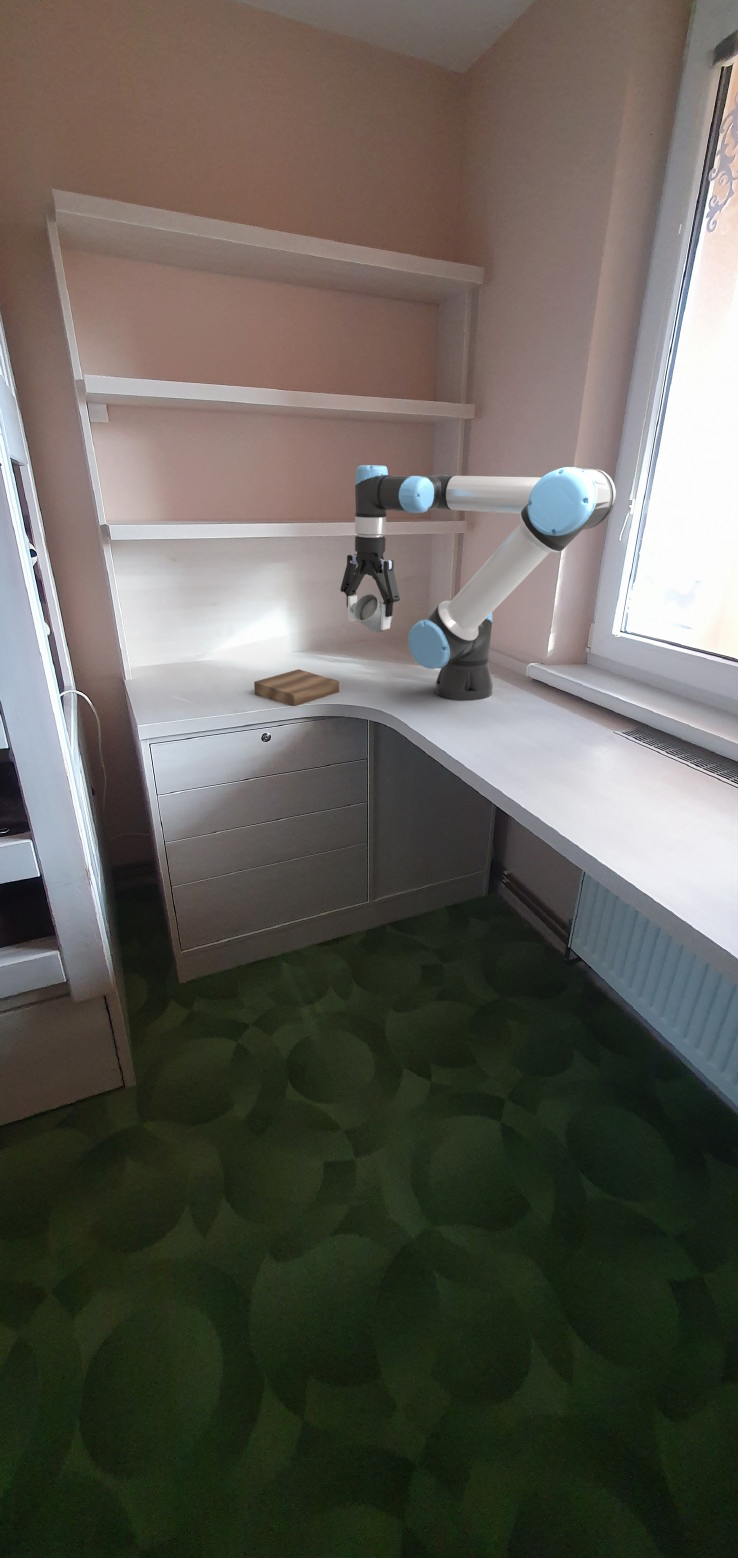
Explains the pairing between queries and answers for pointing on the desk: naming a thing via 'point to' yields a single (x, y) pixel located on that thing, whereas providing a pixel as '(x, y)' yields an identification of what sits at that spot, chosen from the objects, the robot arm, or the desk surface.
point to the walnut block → (296, 687)
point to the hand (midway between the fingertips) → (368, 624)
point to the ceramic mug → (369, 611)
